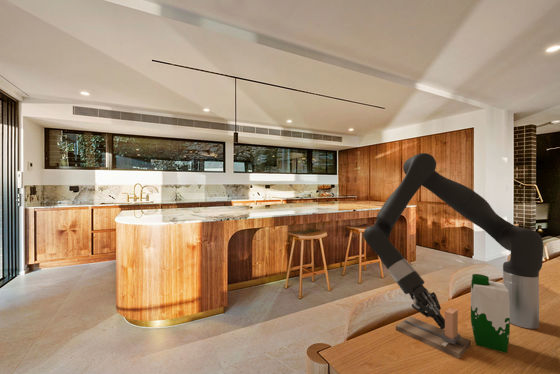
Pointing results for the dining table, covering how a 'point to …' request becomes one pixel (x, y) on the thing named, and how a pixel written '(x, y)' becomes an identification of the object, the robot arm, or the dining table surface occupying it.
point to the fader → (451, 326)
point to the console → (432, 336)
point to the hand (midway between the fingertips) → (445, 327)
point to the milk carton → (490, 313)
